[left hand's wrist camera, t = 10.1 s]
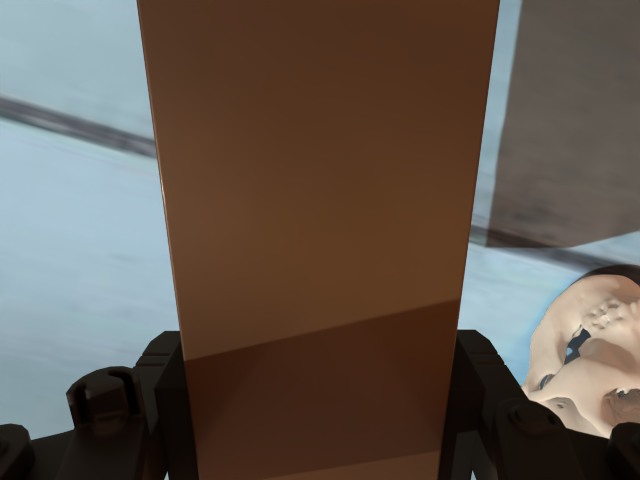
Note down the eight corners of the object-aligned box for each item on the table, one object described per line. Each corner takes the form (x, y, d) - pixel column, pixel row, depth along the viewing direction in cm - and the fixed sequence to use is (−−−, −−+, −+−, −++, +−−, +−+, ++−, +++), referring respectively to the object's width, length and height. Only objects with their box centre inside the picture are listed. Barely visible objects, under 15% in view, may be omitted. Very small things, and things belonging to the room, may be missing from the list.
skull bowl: (731, 259, 23) (914, 530, 15) (585, 357, 34) (650, 542, 26) (543, 244, 23) (637, 511, 15) (458, 347, 34) (488, 531, 26)
